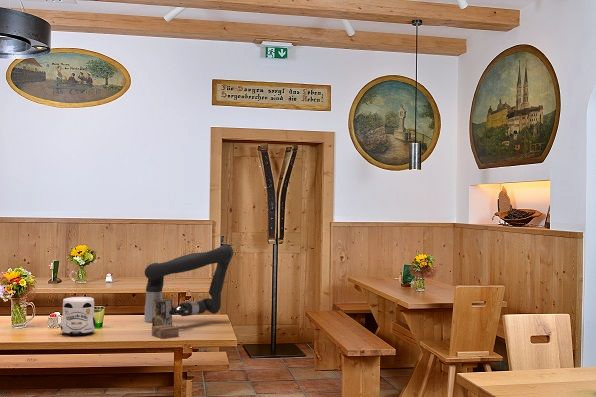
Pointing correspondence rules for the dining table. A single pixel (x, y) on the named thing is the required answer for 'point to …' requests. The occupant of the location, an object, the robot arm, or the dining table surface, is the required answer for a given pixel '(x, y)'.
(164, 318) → the coffee box
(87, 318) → the milk container
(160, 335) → the walnut block
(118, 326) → the dining table surface
